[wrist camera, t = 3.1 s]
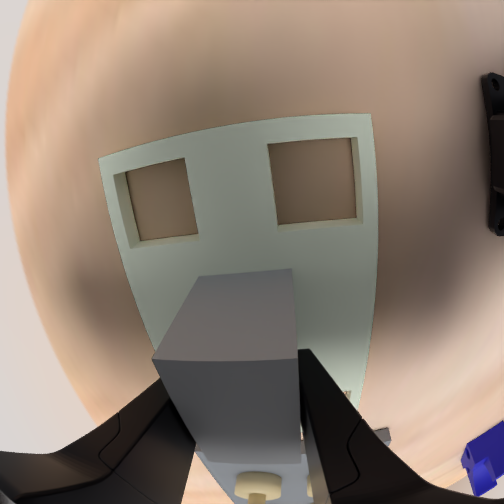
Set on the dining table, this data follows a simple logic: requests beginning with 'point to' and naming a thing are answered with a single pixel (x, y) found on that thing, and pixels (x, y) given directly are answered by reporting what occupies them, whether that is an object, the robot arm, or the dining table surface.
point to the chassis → (268, 479)
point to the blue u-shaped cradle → (485, 459)
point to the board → (259, 233)
